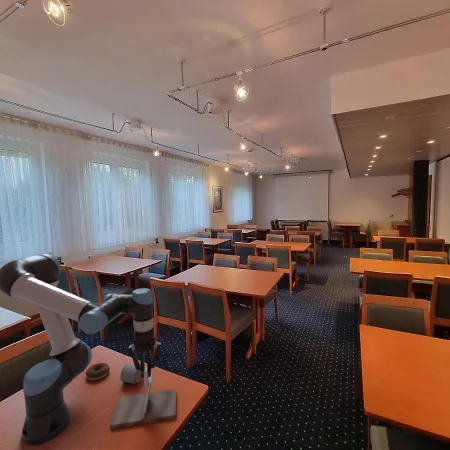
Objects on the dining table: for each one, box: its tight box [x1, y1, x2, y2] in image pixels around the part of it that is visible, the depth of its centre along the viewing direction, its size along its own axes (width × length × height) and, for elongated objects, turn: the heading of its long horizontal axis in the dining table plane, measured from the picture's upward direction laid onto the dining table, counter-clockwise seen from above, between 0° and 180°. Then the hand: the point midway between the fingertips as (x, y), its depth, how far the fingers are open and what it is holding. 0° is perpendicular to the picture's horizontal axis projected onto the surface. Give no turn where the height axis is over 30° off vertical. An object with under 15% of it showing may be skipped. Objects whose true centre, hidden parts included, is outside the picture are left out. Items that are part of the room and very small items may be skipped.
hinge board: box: [109, 388, 177, 430], centre depth 105 cm, size 24×14×2 cm, turn 100°
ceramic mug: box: [119, 362, 143, 384], centre depth 123 cm, size 11×8×8 cm
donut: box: [85, 362, 110, 381], centre depth 127 cm, size 11×11×4 cm
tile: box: [143, 372, 154, 414], centre depth 105 cm, size 10×10×1 cm
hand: (146, 384), depth 104 cm, fingers closed
